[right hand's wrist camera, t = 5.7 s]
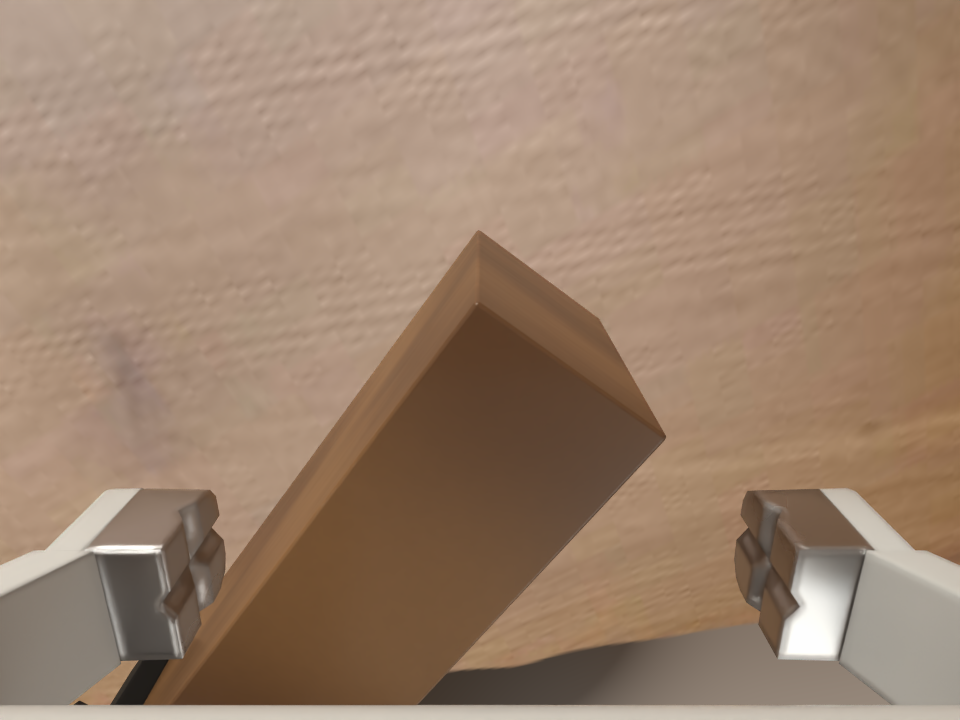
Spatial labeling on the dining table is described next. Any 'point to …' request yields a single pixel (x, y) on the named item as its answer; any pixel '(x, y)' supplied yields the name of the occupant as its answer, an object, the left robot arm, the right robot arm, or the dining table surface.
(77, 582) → the right robot arm
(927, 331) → the dining table surface
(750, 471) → the dining table surface
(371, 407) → the bar
